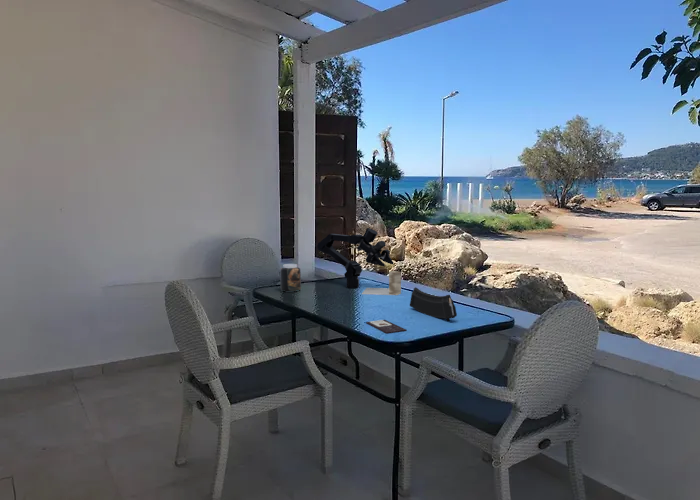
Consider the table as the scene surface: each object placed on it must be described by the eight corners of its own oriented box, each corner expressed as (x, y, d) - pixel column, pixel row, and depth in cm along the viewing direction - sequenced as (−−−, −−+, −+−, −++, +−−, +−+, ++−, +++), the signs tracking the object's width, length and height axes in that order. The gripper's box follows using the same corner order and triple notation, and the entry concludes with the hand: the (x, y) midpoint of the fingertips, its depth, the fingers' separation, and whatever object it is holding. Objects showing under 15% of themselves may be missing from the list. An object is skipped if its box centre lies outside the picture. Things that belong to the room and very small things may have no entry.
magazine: (406, 289, 233) (444, 279, 207) (412, 288, 235) (451, 279, 209) (412, 325, 231) (452, 320, 205) (418, 324, 232) (458, 319, 206)
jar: (277, 292, 277) (276, 265, 275) (285, 288, 288) (285, 263, 287) (296, 293, 274) (295, 266, 272) (304, 289, 285) (303, 263, 283)
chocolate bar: (386, 332, 190) (365, 322, 207) (386, 334, 191) (365, 324, 207) (406, 329, 194) (384, 319, 210) (406, 332, 194) (384, 321, 211)
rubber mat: (361, 295, 266) (361, 294, 266) (366, 288, 285) (366, 287, 284) (398, 296, 262) (398, 295, 262) (401, 289, 281) (401, 288, 281)
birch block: (389, 293, 265) (389, 272, 264) (394, 292, 269) (394, 271, 267) (395, 295, 262) (395, 272, 261) (400, 293, 265) (400, 271, 264)
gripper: (365, 238, 269) (386, 254, 262) (383, 236, 284) (404, 251, 277) (357, 254, 273) (377, 271, 267) (375, 251, 288) (395, 267, 282)
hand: (388, 264), depth 273 cm, fingers open, 9 cm apart
